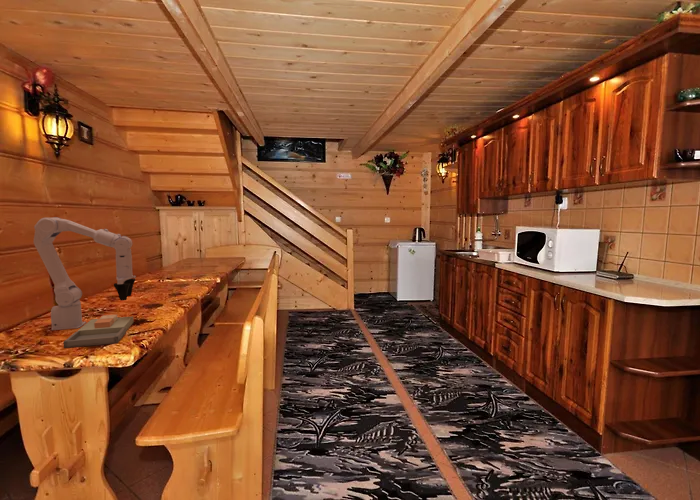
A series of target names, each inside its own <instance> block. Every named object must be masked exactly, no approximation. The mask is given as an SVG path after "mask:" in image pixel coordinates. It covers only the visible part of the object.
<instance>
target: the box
mask: <svg viewBox="0 0 700 500" xmlns="http://www.w3.org/2000/svg"><path fill="white" fill-rule="evenodd" d="M126 333H127V331H126V329H125V328H122V329H121V330H120V331H119V332H117V333H105V334H93V335H81V336H79V332H77V331H75V332H73V333H72V334H71V335H70V336H69V337H68V338H66V339H64V340H63V349H68V348H70V349H71V348H81V347H89V346H101V345H110V344H118V343H119V342H120V341H121V340H122V339H123V337H124V336H125V335H126Z"/></svg>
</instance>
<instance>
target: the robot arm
mask: <svg viewBox="0 0 700 500" xmlns="http://www.w3.org/2000/svg"><path fill="white" fill-rule="evenodd" d="M33 227H34V236H33V245H34V247H35V249H36V252H37V253H38V255H39V257H40V259H41V260H42V262H43V263H42V264H44V266H45V268H46V270H47V273H48V275H49V276H50V279H51V281H52V283H53V284H54V287H53V288H54V289H53V291H54V294H55V297H54V299H55V302H56V303H57V305H54V306H52V307H51V310H50V321H51V330H50V331H58V330H70V329H71V330H72V329H80V328H81V327H83V326H84V325H85V324H86V323H87V321H83V316H82V314H83V313H82V302H81V301H80V299H81V298H82V296H83V291H82V290H81V288H79V287H78V285H76V283H75V282H74V281H73V280H72V279H71V278H70V276H69V274H68V273H67V271H66V270H67V269H66V268H65V266H64V264H63V262H62V260H61V258H60V256H59V253H58V252H57V250H56V248H55V245H54V244H53V243H54V241H55V240H56V238H57V236H58V235H59V234H61V233H62V232H72V233H76V234H79V235H82V236H86V237H90V238H92V239H93V241H94V242H95V243H96V244H100V245H102V246H103V245H104V246H105V247H110V248H113V249H114V250H115V269H116V272H115V273H116V277H115V279H116V281H117V282H116V283H115V282H114V283H113V287H114V289H115V290H116V291H117V294H118V295H117V296H118V298H119V300H120V301H122V302H123V301H127V299H128V297H131V296H132V294H133V293H132V292H133V287H134V284H135V282H136V278H137V276H136V275H133V274H134V273H133V256H132V247H133V240H132V238H130V237H128V236H127V235H122V234H120V233H115V232H111V231H109V229H107V228H104V229H103V228H100V229H97V230H96V229H94V228H90V227H88V226H86V225H83V224H80V223H77V222H75V221H72V220H70V219H66V218H61V217H57V216H53V217H42V218H40V219H39V220H38V221H37V222H36V224H34V226H33Z"/></svg>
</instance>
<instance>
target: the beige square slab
mask: <svg viewBox="0 0 700 500" xmlns="http://www.w3.org/2000/svg"><path fill="white" fill-rule="evenodd" d="M117 318H118V319H117V320H116V321H115V322H114V323H113V324H112V325H111V326H110V327H104V328H95V327H94V323H95V322H96V321H97V320H98V319H99V318H93V319H90V320H89V321H87V322H86V323H85V324H84V325H83V326H81V327H80V328H78V330H77V331H76V332H79V336H81V335H93V334H105V333H117V332H119V331H120V330H121V329H122V328H125V329H126V332H127V331H128V330H129V328H130V327H131V326H132V325H133V324H134V322H135V321H134V316H133V315H132V316H122V317H121V316H120V317H118V316H117Z"/></svg>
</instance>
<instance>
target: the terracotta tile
mask: <svg viewBox="0 0 700 500" xmlns="http://www.w3.org/2000/svg"><path fill="white" fill-rule="evenodd" d="M97 319H98V320H97V321H96V322H95V323H94V327H95V328H104V327H110V326H111V325H112V324H113V323H114V320H113V318H110V319H100V318H97Z"/></svg>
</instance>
